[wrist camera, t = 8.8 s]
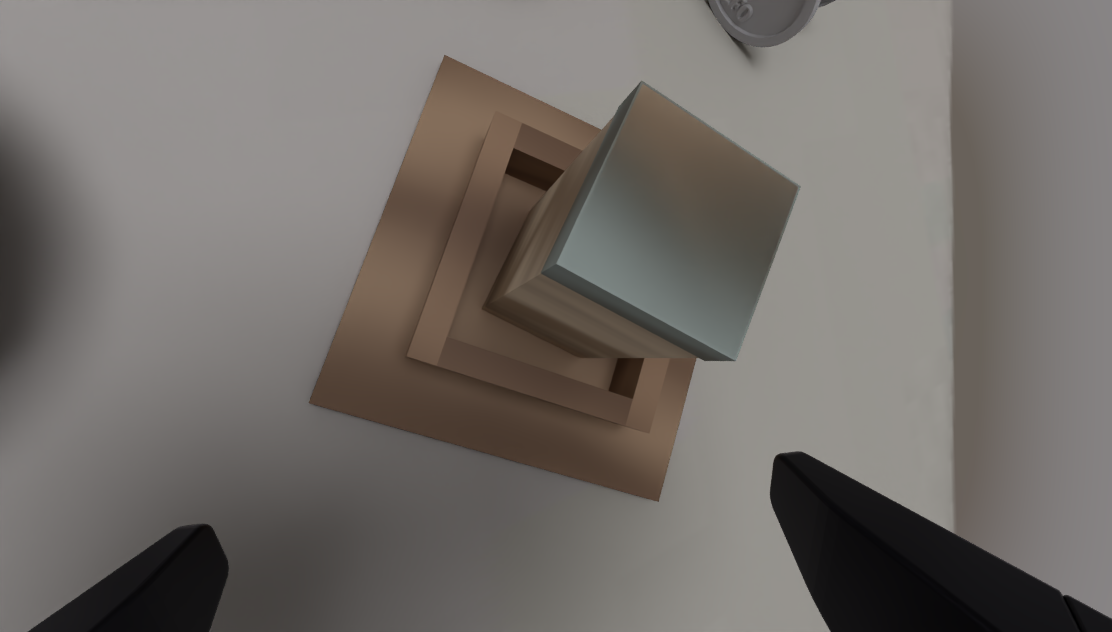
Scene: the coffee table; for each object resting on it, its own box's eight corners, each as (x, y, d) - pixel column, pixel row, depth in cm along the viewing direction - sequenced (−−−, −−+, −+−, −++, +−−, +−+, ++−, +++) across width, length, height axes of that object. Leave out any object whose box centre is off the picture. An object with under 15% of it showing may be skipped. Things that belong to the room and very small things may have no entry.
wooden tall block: (580, 359, 21) (735, 361, 11) (479, 309, 20) (556, 263, 10) (623, 262, 22) (801, 186, 12) (528, 209, 21) (641, 80, 11)
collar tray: (651, 498, 22) (690, 518, 19) (311, 401, 18) (295, 409, 15) (731, 199, 24) (775, 178, 21) (443, 63, 21) (450, 15, 18)
